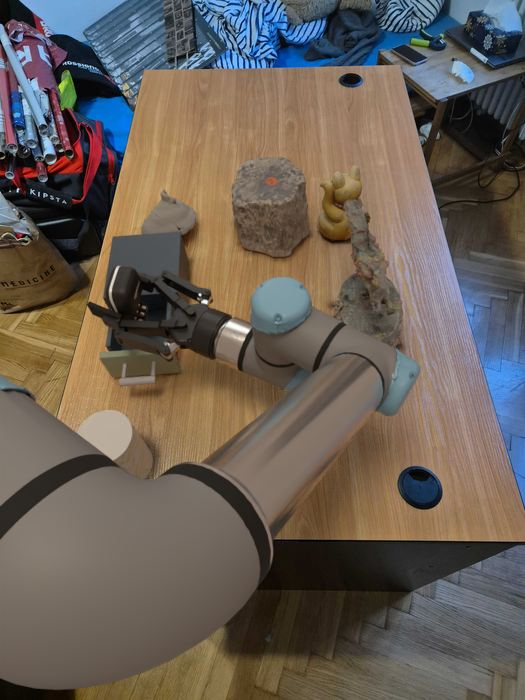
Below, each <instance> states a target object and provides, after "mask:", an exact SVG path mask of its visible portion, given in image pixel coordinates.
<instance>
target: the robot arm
mask: <svg viewBox="0 0 525 700" xmlns="http://www.w3.org/2000/svg"><path fill="white" fill-rule="evenodd" d="M138 274H139V276H140V279H141V281H142V284H143V290H145V291H148V292H150V293H152V292H153V291H154V288H155V289H156V292H157V293H159V294H160V295H161V296H162V297H163V298H164V299H166V300H167V301H168V302H169V303H170V304H171V305H172V306H173V307H174V308H175V309H176V311H175V313H174V315H173V316H172V317H171V318H170V319H169V320H161V321H160V322H157V321H137V320H124V318H123V316H122V314H119V313H117V312H114V311H112V310H109V309H108V307H107V308H106V307H105V306H102V305H99V304H97V303H95V302H93V301H91V300H90V301H87V303H86V306H87V308H88V309H89V311H90V313H91V314H92V316H95V317H97V318H99V319H101V322H102V323H103V324H104V325H105V326H106V327H111V328H113V329H115V330H116V331H115V332H114V336H115V337H116V339H117V341H118V343H119V344H120V345H124V346H128V347H131V348H135V349H138V350H142V351H145V352H149V353H152V354H156V355H159V356H161V357H162V358H163V359H165V360H166V361H168V362H171V361H172V360H173V355H174V354H175V353H176V352H177V353H178V351H179V350H189V351H191V352H193V353H195V354H197V355H200V356H202V357H204V358H206V359H209V360H212V361H214V360H216V362H217V363H219V364H221V365H224V366H226V367H228V368H231V369H233V370H236V371H238V372H240V373H243V374H246V375H248V376H250V377H253V378H255V379H258V380H259V381H262V382H264V383H267V384H269V385H271V386H273V387H276V388H278V389H280V391H282V392H287V393H285V395H283V396H282V397H281V398H279V399H278V400H277V401H276V402H274V404H272V405H271V406H270V407H268V408H267V409H266V410H264V411H263V412H262V413H261V414H260V415H258V416H257V417H256V418H255V419H253V420H252V421H250V422H249V423H248V424H247V425H246V426H244V427H243V428H242V429H240V430H239V431H238V432H237V433H236V434H234V435H233V436H232V437H231V438H229V439H228V440H227V441H225V442H224V443H223V444H222V445H221V446H219V447H218V448H216V450H214V451H213V452H212V453H210V454H209V455H208V456H207V457H206V458H204V459H203V460H202V461H200V462H198V461H183V462H179V463H176V464H173V466H171V467H169V468H168V469H166V470H165V471H163V472H162V473H161V474H160V475H158V476H157V477H156V478H153V479H148V478H146V479H140V478H138V477H135V476H133V475H131V474H129V473H128V472H127V471H125V470H124V469H123V468H121V467H120V466H119V465H117V464H116V463H115V462H114V461H113V460H112V459H110V458H109V457H108V456H107V455H105V454H104V453H103V452H101V451H100V450H99V449H97V448H96V447H95V446H93V445H92V444H91V443H89V442H88V441H87V440H85V439H84V438H83V437H81V436H80V435H79V434H77V431H75V430H73V429H72V428H71V427H70V426H68V425H67V424H65V423H64V422H63V421H62V420H60V419H59V418H58V417H57V416H55V415H54V414H52V413H51V412H50V411H48V410H47V409H45V407H43V406H42V405H40V404H39V403H37V400H36V399H37V398H36V396H35V394H33V393H32V392H31V391H30V390H29V389H28V388H26V387H23V386H20V385H17V384H16V383H14V382H12V381H11V380H9V379H8V378H6V377H5V376H4V375H2V374H0V679H1V680H4V681H6V682H9V683H10V684H11V683H12V684H14V685H19V686H22V687H28V688H31V689H40V690H53V691H58V690H59V691H60V690H78V689H85V688H93V687H99V686H104V685H108V684H111V683H115V682H119V681H123V680H126V679H129V678H132V677H135V676H138V675H141V674H144V673H146V672H148V671H151V670H153V669H156V668H157V667H160V666H162V665H164V664H167V663H168V662H171V661H173V660H175V659H176V658H178V657H180V656H182V655H183V654H184V653H187V652H188V651H189V650H192V649H193V648H195V647H196V646H198V645H199V644H200V643H203V642H204V641H206V640H207V639H208V638H209V637H211V636H212V635H213V634H215V633H216V632H217V631H219V630H220V629H221V628H222V627H224V625H226V624H227V623H228V622H229V621H230V620H231V619H232V618H233V617H234V616H235V615H236V614H238V613H239V611H240V610H241V609H243V607H244V606H245V605H246V604H247V602H248V601H249V600H250V598H251V597H252V596H253V594H254V593H255V592H256V590H257V589H258V587H259V586H260V585H261V584H262V582H263V580H264V579H265V578H266V577H267V575H268V573H269V571H270V570H271V567H272V565H273V560H274V545H273V543H274V542H273V541H274V540H275V539H276V537H277V536H278V535H279V533H280V532H281V531H282V530H283V528H284V527H285V526H286V525H287V523H288V522H289V521H290V519H291V518H292V517H293V515H294V514H295V513H296V512H297V510H298V509H299V508H300V507H301V505H303V503H304V502H305V500H306V499H307V498H308V496H310V494H311V493H312V491H313V490H314V489H315V488H316V486H317V485H318V484H319V483H320V481H321V480H323V479H322V478H323V477H324V476H325V475H326V474H327V472H328V471H329V470H330V468H331V467H332V466H333V465H334V463H335V462H336V461H337V459H338V458H339V457H340V456H341V455H342V453H343V452H344V451H345V449H346V448H347V447H348V446H349V444H350V443H351V441H353V439H354V438H355V437H356V435H357V434H358V433H359V432H360V430H361V429H362V427H364V425H365V424H366V423H367V422H368V420H369V419H370V417H371V416H372V415H373V413H379V414H382V415H383V416H385V417H393V416H396V415H397V414H398V412H400V410H401V408H402V407H403V405H404V403H405V401H406V400H407V398H408V396H409V395H410V393H411V391H412V389H413V388H414V386H415V384H416V382H417V381H418V378H419V376H420V374H421V366H420V364H419V363H418V362H417V361H416V360H415V359H413V358H412V357H410V356H408V355H407V354H405V353H403V352H402V351H400V350H399V349H397V348H394V347H391V346H389V345H387V344H385V343H383V342H381V341H379V340H377V339H375V338H373V337H371V336H369V335H367V334H365V333H363V332H361V331H359V330H357V329H355V328H353V327H351V326H349V325H347V324H345V323H344V322H342V321H340V320H338V319H336V318H334V316H332V315H331V314H329V313H326V312H324V311H322V310H321V309H319V308H317V307H315V306H313V305H312V304H313V303H312V302H313V301H312V300H311V299H312V298H311V294H310V292H309V290H308V289H307V287H306V286H305V285H304V284H303V283H302V282H301V281H300V280H298V279H296V278H293V277H289V276H276V277H271V278H268V279H266V280H264V281H262V283H260V284H258V286H256V287H255V290H254V291H253V292H252V295H251V299H250V314H249V321H247V320H245V319H242V318H240V317H238V316H232V314H229V313H226V312H224V311H221V310H220V309H216V308H212V307H210V305H211V304H213V302H214V299H213V298H214V297H213V293H212V290H211V289H210V288H205V287H200V286H197V285H195V283H194V284H193V282H190V281H189V280H188V281H186V280H184V279H182V278H180V277H178V276H176V275H175V274H173V273H171V272H169V271H167V270H163V271H162V272H161V275H159V276H158V277H157V276H155V277H153V276H150V275H148V274H145V273H142V272H139V273H138ZM168 286H169V287H171V288H173V289H175V290H177V291H179V292H180V293H182V294H184V295H186V296H187V298H190V299H192V300H193V301H196V302H198V303H194V304H189V303H188V301H187V302H186V301H185V300H183V299H182V298H180V297H179V296H178V295H177V294H176V293H175V292H174V291H173V290H171V289H170V288H169V287H168ZM140 335H141V336H140ZM143 336H160V337H163V338H166V339H173V341H174V343H171V344H170V343H167V342H164V343H162V342H160V341H157V340H154V339H151V338H147V337H143Z"/></svg>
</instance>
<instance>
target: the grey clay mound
mask: <svg viewBox="0 0 525 700" xmlns="http://www.w3.org/2000/svg"><path fill="white" fill-rule="evenodd" d="M160 198H161V199H160V200H159V202H158V203H157V204H156V205H155V206H154V207H153V208H152V209H151V211H150V213H148V215H147V216H146V218H145V219H144V220H143V221H142V224H141V227H140V231H141V233H140V234H154V233H167V232H180V231H181V234H182V236H185V235H186V234H188V232H189V231H191V230H192V229H193V228H194V227H195V225H196V223H197V219H196V218H197V217H198V214H197V212H196V210H195V209H194V208H193V207H192V206H190V205H189V204H186V203H185V202H184V201H182V200H180V199H178V198H176V197H172V196H170V195H169V194H168V192H167V190H166V188H163V189H162V190H161V192H160Z"/></svg>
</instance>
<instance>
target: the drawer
mask: <svg viewBox="0 0 525 700" xmlns="http://www.w3.org/2000/svg"><path fill="white" fill-rule="evenodd" d="M140 299H141V300H142V301H143V302H144V303H145V304H146V305H147V306H148V314H147V318H146V321H157V322H160V321H161V320H169V319H170V318H171V317H172V316H173V315H174V313H175V311H176V309H175V308H174V307H173V306H172V305H171V304H170V303H169V302H168V301H167V300H166V299H164V298H163V297H162V296H159V297H146V298H140ZM111 310H112V309H111ZM107 327H108V326H107ZM115 331H116V330H115V329H113V328H111V327H108V328H107V333H106V339H105V348H106V350H107V351H100V352H99V360H100V362H101V363H102V365H103V366H104V368H105V369H106V371H107V372H108V374H109V376H110V377H111V378H119V379H118V384H119V386H120V387H132V386H143V385H156V384H157V383H158V379H157V376H156V375H162V374H163V375H165V374H177V373H178V374H179V373H181V368H182V367H181V365H180V362H179V359H178V351H177V352H176V353H175V354H174V355H173V360H172V361H171V362H168V361H166V360H165V359H163V358H162V357H161V356H159V355H156V354H152V353H149V352H145V351H142V350H138V349H135V348H131V347H128V346H124V345H120V344H119V343H118V341H117V339H116V337H115V336H114V332H115ZM140 336H141V335H140ZM143 337H147V338H151V339H154V340H157V341H160V342H162V343H164V342H167V343H170V344H171V343H174V341H173V339H166V338H163V337H160V336H143Z"/></svg>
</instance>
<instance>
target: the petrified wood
mask: <svg viewBox="0 0 525 700" xmlns="http://www.w3.org/2000/svg"><path fill="white" fill-rule="evenodd" d="M231 200H232V201H231V206H232V215H233V222H234V223H235V224H234V225H235V228H236V233H237V235H238V241H239V242H240V243H241V245H242V247H243V248H244V249H246V250H248V251H253V252H258V253H263V254H266V255H269V256H270V257H273V258H284V257H290V256H291V255H292V252H293V250H294V248H296V247H297V246H298V245H299V244H300V243H301V241H302V240H303V239H306V238H307V237H308V236H310V231H311V229H310V224H309V215H308V211H309V203H308V196H307V181H306V176H305V173H304V172H303V171H302V170H301V169H300V168H299V167H297V166H295V164H293V163H292V161H291V159H288V158H286V157H283V156H264V157H260V156H259V157H255V158H250V159H248V160H245V161H244V162H243V163H242V164H241V166H240V167H239V168H237V170H236V175H235V180H234V182H233V183H232V185H231Z"/></svg>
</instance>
